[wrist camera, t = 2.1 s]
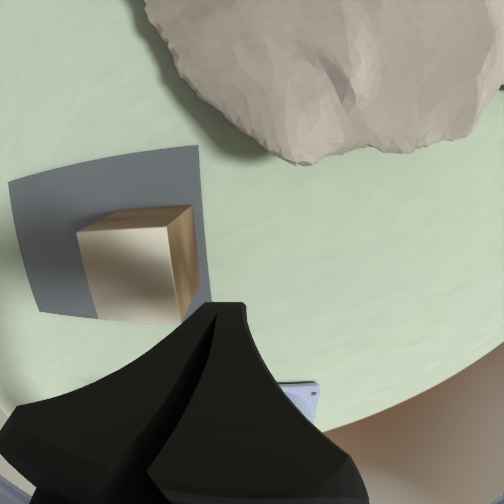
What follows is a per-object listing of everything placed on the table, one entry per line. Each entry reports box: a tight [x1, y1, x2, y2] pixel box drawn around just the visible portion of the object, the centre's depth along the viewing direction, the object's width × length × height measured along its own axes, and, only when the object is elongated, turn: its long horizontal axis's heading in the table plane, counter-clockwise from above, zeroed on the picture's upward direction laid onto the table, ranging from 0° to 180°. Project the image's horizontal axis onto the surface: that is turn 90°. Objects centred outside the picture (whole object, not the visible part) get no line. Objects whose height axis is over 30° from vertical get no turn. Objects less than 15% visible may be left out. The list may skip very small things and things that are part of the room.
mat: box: [8, 145, 212, 325], centre depth 18 cm, size 12×17×1 cm
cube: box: [77, 205, 201, 325], centre depth 15 cm, size 5×5×5 cm
